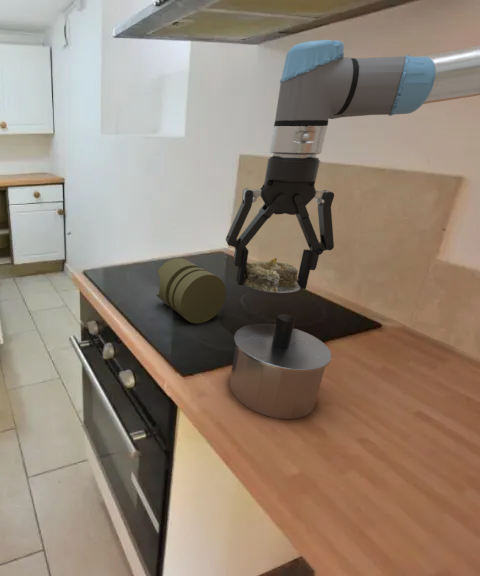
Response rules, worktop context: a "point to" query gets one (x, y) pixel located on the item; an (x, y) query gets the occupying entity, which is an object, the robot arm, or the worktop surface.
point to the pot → (273, 388)
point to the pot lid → (282, 346)
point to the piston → (191, 290)
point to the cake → (271, 277)
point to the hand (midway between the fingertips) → (269, 284)
